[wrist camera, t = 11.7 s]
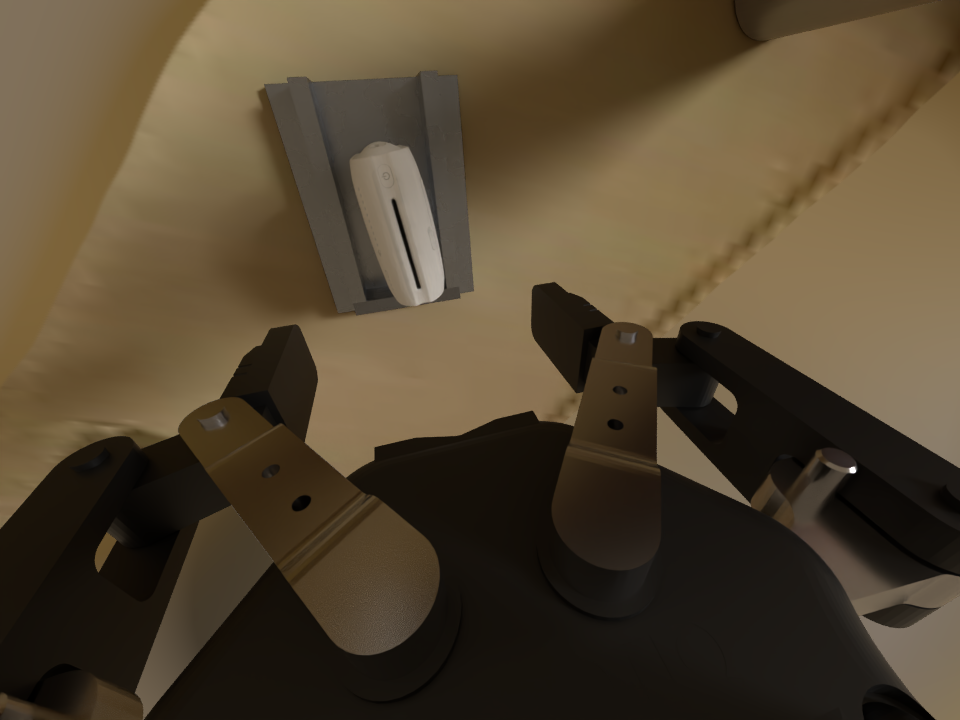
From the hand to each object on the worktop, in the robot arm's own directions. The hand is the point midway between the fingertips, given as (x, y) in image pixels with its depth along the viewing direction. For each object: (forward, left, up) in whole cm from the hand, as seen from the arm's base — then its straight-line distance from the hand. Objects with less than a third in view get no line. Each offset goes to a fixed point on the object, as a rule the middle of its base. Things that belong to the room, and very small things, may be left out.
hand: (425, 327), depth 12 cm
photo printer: (0, 0, -23) cm, 23 cm away
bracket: (0, 0, -24) cm, 24 cm away
